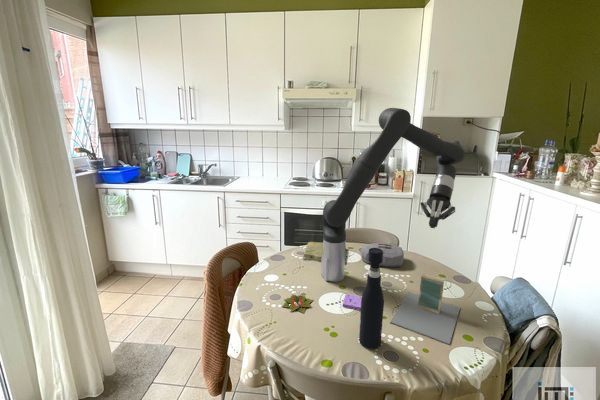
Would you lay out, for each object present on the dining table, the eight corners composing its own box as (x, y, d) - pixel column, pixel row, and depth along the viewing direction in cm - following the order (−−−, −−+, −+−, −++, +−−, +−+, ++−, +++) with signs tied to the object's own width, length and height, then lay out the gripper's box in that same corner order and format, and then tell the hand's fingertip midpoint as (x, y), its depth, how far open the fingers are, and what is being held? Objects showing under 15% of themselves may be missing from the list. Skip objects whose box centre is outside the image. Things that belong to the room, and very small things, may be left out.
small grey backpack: (402, 256, 149) (361, 252, 154) (403, 241, 147) (361, 237, 152) (404, 271, 135) (358, 265, 140) (405, 253, 133) (359, 249, 138)
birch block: (419, 303, 110) (423, 273, 107) (440, 310, 106) (444, 279, 103) (417, 307, 108) (421, 277, 104) (438, 314, 104) (442, 282, 101)
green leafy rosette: (290, 292, 118) (290, 282, 117) (319, 300, 113) (319, 289, 112) (275, 309, 108) (275, 298, 107) (305, 318, 103) (305, 306, 102)
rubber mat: (408, 292, 117) (408, 291, 117) (460, 308, 108) (460, 307, 107) (389, 322, 100) (390, 321, 100) (449, 344, 90) (449, 343, 90)
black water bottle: (356, 335, 94) (361, 246, 87) (376, 334, 95) (383, 245, 87) (362, 350, 88) (368, 255, 80) (383, 348, 89) (391, 254, 81)
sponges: (345, 297, 115) (345, 293, 115) (379, 303, 111) (379, 299, 111) (341, 308, 109) (342, 303, 108) (377, 315, 105) (378, 310, 104)
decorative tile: (308, 246, 162) (308, 240, 161) (345, 249, 158) (346, 243, 157) (301, 261, 145) (301, 255, 144) (343, 265, 141) (343, 258, 140)
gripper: (423, 181, 120) (412, 219, 113) (460, 185, 112) (451, 225, 106) (425, 192, 125) (415, 228, 119) (461, 196, 118) (452, 235, 111)
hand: (432, 227), depth 112 cm, fingers closed
